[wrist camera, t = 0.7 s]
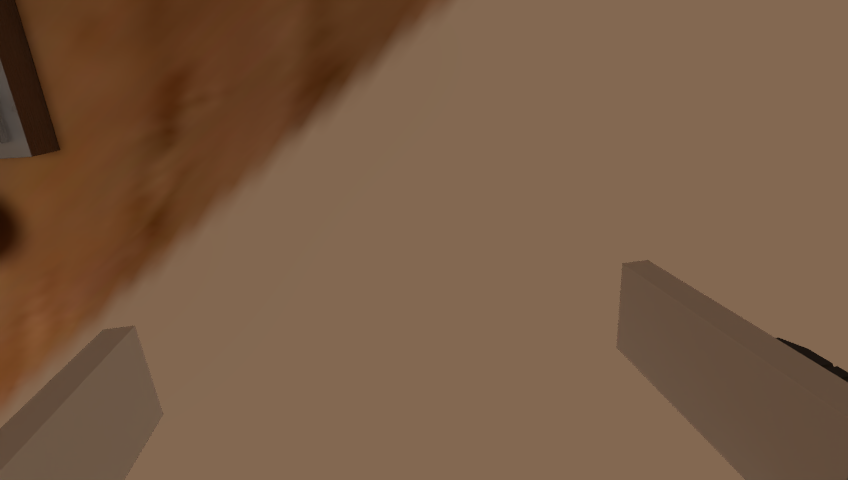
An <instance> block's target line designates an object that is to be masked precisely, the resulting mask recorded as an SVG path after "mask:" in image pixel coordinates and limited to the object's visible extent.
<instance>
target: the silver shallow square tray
mask: <svg viewBox="0 0 848 480" xmlns="http://www.w3.org/2000/svg"><path fill="white" fill-rule="evenodd" d="M58 150H60V149H59V146H58V143H57V139H56V136H55V133H54V129H53V126H52V123H51V119H50V116H49V113H48V110H47V106H46V103H45V100H44V96H43V93H42V90H41V86H40V83H39V80H38V77H37V73H36V70H35V67H34V63H33V60H32V57H31V53H30V50H29V47H28V44H27V40H26V37H25V34H24V30H23V27H22V24H21V20H20V17H19V14H18V10H17V7H16V4H15V1H14V0H0V159H1V158H17V157H32V156H37V155H41V154H45V153H50V152H54V151H58Z"/></svg>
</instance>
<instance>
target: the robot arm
mask: <svg viewBox="0 0 848 480" xmlns="http://www.w3.org/2000/svg"><path fill="white" fill-rule="evenodd" d="M617 349H618V350H619V351H620V352H621V353H622V354H623V355H624V356H625V357H626V358H627V359H628V360H629V361H630V362H631V363H632V364H633V365H634V366H635V367H636V368H637V369H638V370H639V371H640V372H641V373H642V374H643V375H644V376H645V377H646V378H647V379H648V380H649V381H650V382H651V383H652V384H653V386H655V387H656V389H657V390H658V391H659V392H660V393H661V394H662V395H663V396H664V397H665V398H666V399H667V400H668V401H669V402H670V403H671V404H672V405H673V406H674V407H675V408H676V409H677V410H678V411H679V412H680V413H681V414H682V415H683V416H684V417H685V418H686V419H687V420H688V421H689V422H690V424H692V425H693V427H694V428H696V430H697V431H698V432H699V433H700V434H701V435H702V436H703V437H704V438H705V439H706V440H707V441H708V442H709V443H710V444H711V445H712V446H713V447H714V448H715V449H716V450H717V451H718V452H719V453H720V454H721V455H722V456H723V457H724V458H725V459H726V460H727V461H728V462H729V464H730V465H732V467H733V468H734V469H735V470H736V471H737V472H738V473H739V474H740V475H741V476H742V477H743V478H744V479H745V480H848V372H846V371H844V370H843V369H841V368H839V367H837V366H836V367H834V366H833V364H832V363H831V362H829V361H828V360H826V359H824V358H823V357H821V356H819V355H817V354H816V353H814V352H812V351H811V350H809V349H807V348H804V347H801V346H799V345H796V344H794V343H791V342H789V341H786V340H783V339H780V338H774V337H773V336H771V335H769V334H768V333H766V332H765V331H763V330H761V329H760V328H758V327H756V326H755V325H753V324H752V323H750V322H748V321H747V320H745V319H743V318H742V317H740V316H738V315H737V314H735V313H733V312H732V311H730V310H729V309H727V308H725V307H723V306H722V305H720V304H719V303H717V302H715V301H714V300H712V299H711V298H709V297H707V296H706V295H704V294H702V293H700V292H699V291H697V290H696V289H694V288H693V287H691V286H689V285H688V284H686V283H684V282H683V281H681V280H679V279H678V278H676V277H674V276H673V275H671V274H670V273H668V272H667V271H665V270H663V269H662V268H660V267H658V266H657V265H655V264H653V263H652V262H650V261H649V260H645V261H637V262H630V263H623V264H622V277H621V291H620V307H619V320H618V335H617ZM162 415H163V412H162V408H161V406H160V402H159V399H158V396H157V393H156V390H155V387H154V384H153V381H152V378H151V375H150V371H149V368H148V365H147V362H146V359H145V356H144V353H143V350H142V346H141V343H140V340H139V337H138V334H137V331H136V328H135V326H128V327H121V328H113V329H105V330H102V331H101V332H100V333H99V334H98V335H97V336H96V337H95V338H94V339H93V340H92V341H91V342H90V343H89V344H88V345H87V346H86V347H85V348H84V349H82V350H81V351H80V352H79V353H78V354H77V355H76V356H75V357H74V358H73V359H72V360H71V361H70V362H69V363H68V364H67V365H66V366H65V367H64V368H63V369H62V370H61V371H60V372H59V373H58V374H56V375H55V376H54V377H53V378H52V379H51V380H50V381H49V382H48V383H47V384H46V385H45V386H44V387H43V388H42V389H41V390H40V391H39V392H38V393H37V394H36V395H35V396H34V397H33V398H32V399H30V400H29V401H28V402H27V403H26V404H25V405H24V406H23V407H22V408H21V409H20V410H19V411H18V412H17V413H16V414H15V415H14V416H13V417H12V418H11V419H10V420H9V421H8V422H7V423H6V424H4V425H3V426H2V427H1V428H0V480H125V478H126V476H127V475H128V473H129V471H130V469H131V468H132V466H133V464H134V463H135V461H136V459H137V458H138V456H139V454H140V452H141V451H142V449H143V448H144V446H145V444H146V443H147V441H148V439H149V437H150V436H151V434H152V432H153V431H154V429H155V427H156V426H157V424H158V422H159V420H160V419H161V417H162Z"/></svg>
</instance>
